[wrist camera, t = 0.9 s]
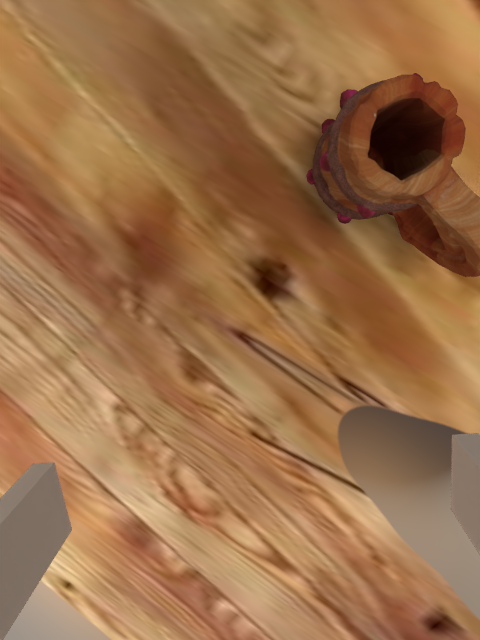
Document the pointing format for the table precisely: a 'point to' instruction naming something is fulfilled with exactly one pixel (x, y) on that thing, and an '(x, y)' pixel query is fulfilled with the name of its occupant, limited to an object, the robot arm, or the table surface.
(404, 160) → the mug
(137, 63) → the table surface
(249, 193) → the table surface
